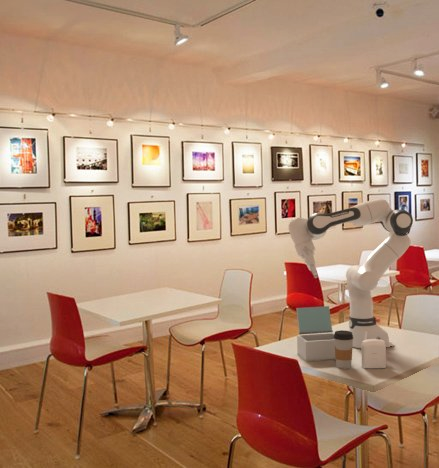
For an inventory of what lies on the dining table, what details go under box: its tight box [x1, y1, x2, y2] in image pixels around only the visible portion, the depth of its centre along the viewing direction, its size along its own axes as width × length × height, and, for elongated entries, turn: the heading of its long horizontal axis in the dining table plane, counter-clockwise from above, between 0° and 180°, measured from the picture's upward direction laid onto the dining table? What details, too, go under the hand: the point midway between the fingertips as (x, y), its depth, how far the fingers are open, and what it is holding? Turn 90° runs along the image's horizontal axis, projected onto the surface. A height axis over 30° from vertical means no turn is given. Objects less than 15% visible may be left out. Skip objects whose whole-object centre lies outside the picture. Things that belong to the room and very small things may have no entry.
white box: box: [296, 332, 336, 362], centre depth 247 cm, size 18×12×9 cm
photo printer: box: [360, 339, 387, 369], centre depth 229 cm, size 10×4×12 cm, turn 86°
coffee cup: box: [334, 330, 354, 370], centre depth 231 cm, size 8×8×15 cm
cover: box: [296, 305, 334, 335], centre depth 253 cm, size 16×12×1 cm
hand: (316, 276), depth 257 cm, fingers open, 8 cm apart
